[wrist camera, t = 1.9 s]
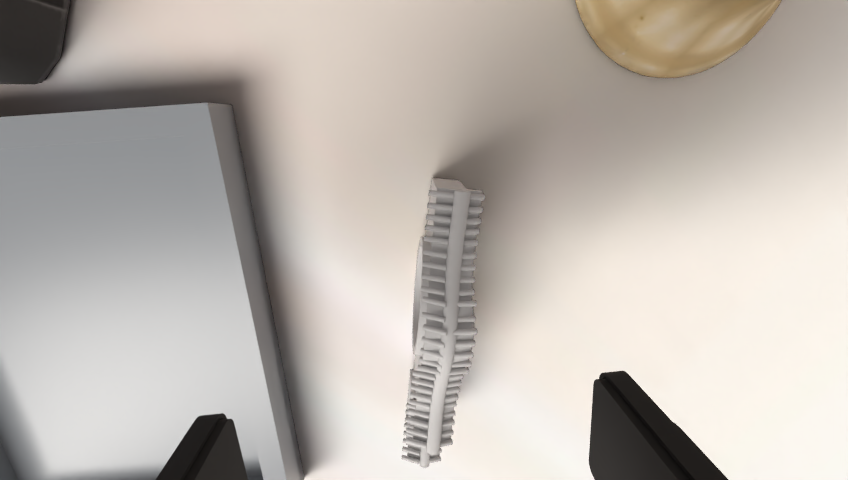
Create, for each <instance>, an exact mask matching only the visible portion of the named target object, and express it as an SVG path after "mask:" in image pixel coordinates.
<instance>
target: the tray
mask: <svg viewBox="0 0 848 480" xmlns="http://www.w3.org/2000/svg"><path fill="white" fill-rule="evenodd" d="M220 413H223V414H225V415H226V417H227V419H232V420H233V421H234V425H235V429H236V433H237V437H238V441H239V445H240V449H241V453H242V457H243V461H244V465H245V469H246V473H247V477H248V480H304V473H303V468H302V463H301V458H300V453H299V447H298V442H297V437H296V432H295V427H294V422H293V417H292V411H291V406H290V401H289V396H288V391H287V386H286V380H285V375H284V370H283V365H282V360H281V355H280V350H279V344H278V339H277V334H276V329H275V324H274V319H273V313H272V308H271V303H270V298H269V293H268V288H267V283H266V277H265V272H264V267H263V262H262V257H261V252H260V247H259V241H258V236H257V231H256V226H255V221H254V216H253V210H252V205H251V200H250V195H249V190H248V185H247V180H246V174H245V169H244V164H243V159H242V154H241V149H240V143H239V138H238V133H237V128H236V123H235V118H234V113H233V107H232V105H228V104H217V103H194V104H179V105H165V106H151V107H137V108H122V109H108V110H94V111H80V112H65V113H51V114H37V115H23V116H8V117H0V480H156V478H157V477H158V475H159V474H160V472H161V471H162V469H163V468H164V466H165V465H166V463H167V462H168V460H169V458H170V457H171V455H172V454H173V452H174V451H175V449H176V448H177V446H178V445H179V443H180V442H181V440H182V439H183V437H184V436H185V434H186V433H187V431H188V430H189V428H190V427H191V425H192V424H193V422H194V421H195V419H196V418H197V417H199V416H201V415H211V414H220Z"/></svg>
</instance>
